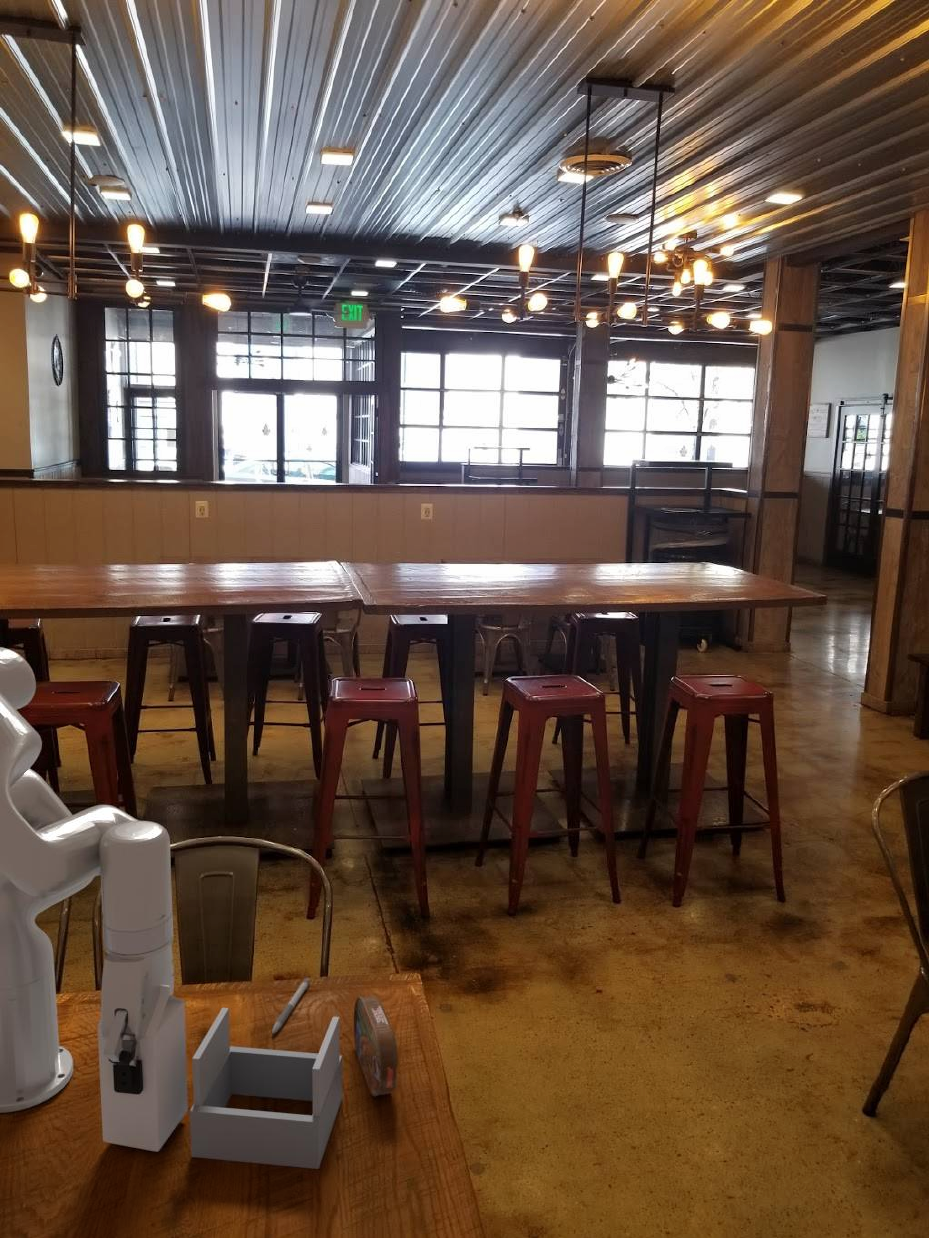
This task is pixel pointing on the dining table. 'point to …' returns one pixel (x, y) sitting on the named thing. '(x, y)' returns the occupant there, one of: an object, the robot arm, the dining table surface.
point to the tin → (375, 1045)
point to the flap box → (263, 1076)
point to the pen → (290, 1005)
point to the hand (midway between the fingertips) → (144, 1067)
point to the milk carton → (149, 1081)
